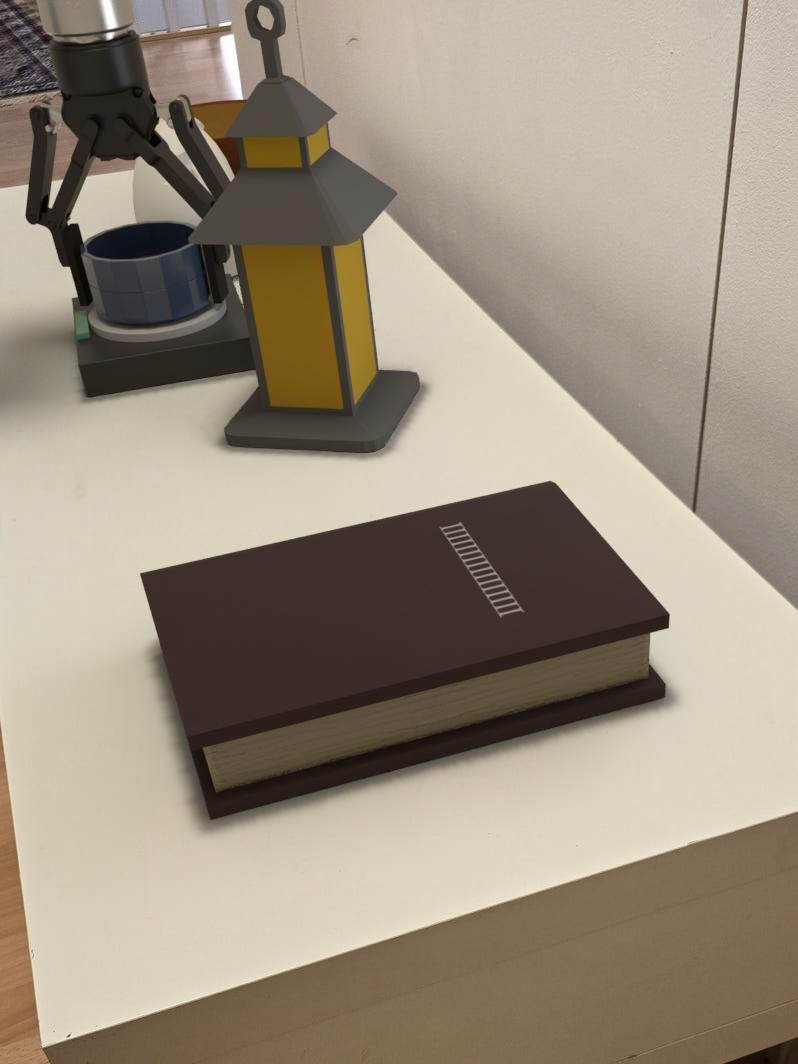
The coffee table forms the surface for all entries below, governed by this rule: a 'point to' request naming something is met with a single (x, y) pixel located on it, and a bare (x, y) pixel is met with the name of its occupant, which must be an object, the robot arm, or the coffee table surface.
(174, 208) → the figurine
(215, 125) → the bowl
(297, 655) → the book
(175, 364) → the scale
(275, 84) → the lantern
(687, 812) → the coffee table surface
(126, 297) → the glazed bowl
